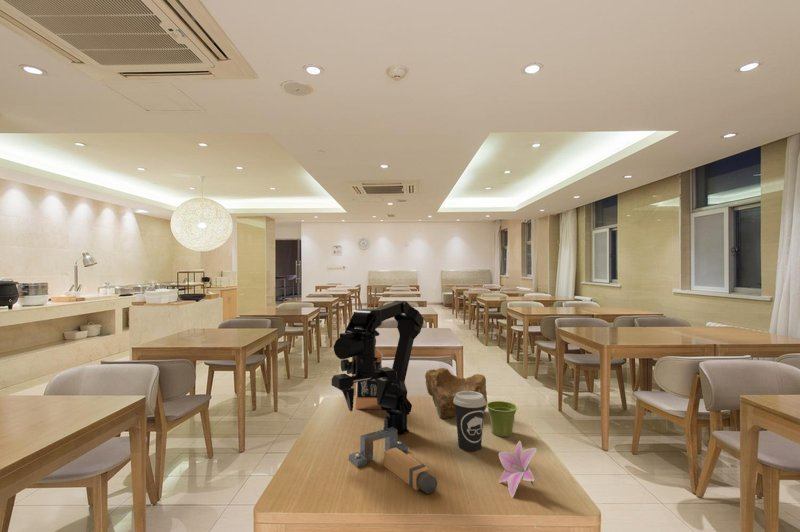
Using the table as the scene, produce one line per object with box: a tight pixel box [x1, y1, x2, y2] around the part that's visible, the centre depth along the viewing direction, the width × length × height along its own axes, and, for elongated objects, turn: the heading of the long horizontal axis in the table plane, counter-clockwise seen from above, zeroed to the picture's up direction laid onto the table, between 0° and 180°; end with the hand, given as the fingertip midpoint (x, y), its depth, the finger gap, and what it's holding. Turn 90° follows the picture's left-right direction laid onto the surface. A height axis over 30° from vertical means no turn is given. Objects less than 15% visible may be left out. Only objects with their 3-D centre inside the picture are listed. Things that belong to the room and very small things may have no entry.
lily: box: [498, 440, 537, 499], centre depth 89 cm, size 12×12×10 cm
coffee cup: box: [453, 391, 486, 453], centre depth 110 cm, size 10×10×15 cm
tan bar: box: [383, 448, 438, 495], centre depth 93 cm, size 17×4×4 cm, turn 35°
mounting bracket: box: [348, 427, 409, 468], centre depth 105 cm, size 5×16×6 cm, turn 125°
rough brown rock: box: [424, 367, 488, 419], centre depth 136 cm, size 23×17×15 cm
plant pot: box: [486, 400, 518, 438], centre depth 120 cm, size 9×9×9 cm
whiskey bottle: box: [355, 336, 384, 410], centre depth 147 cm, size 10×10×32 cm
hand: (365, 407), depth 108 cm, fingers open, 9 cm apart
